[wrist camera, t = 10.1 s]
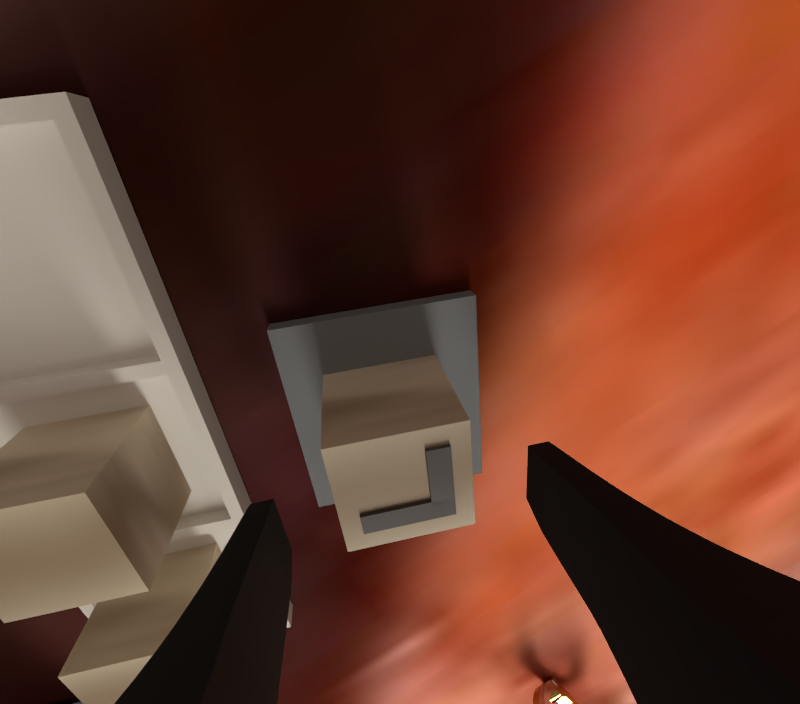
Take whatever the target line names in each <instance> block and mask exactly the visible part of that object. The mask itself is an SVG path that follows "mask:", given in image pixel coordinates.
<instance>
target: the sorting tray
mask: <svg viewBox="0 0 800 704" xmlns="http://www.w3.org/2000/svg"><path fill="white" fill-rule="evenodd" d="M146 405H150V406H151V408H152V411H153V413H154V415H155V417H156V419H157V421H158V423H159V425H160V427H161V429H162V431H163V433H164V435H165V437H166V439H167V441H168V443H169V445H170V447H171V450H172V452H173V454H174V456H175V458H176V460H177V462H178V464H179V466H180V468H181V470H182V472H183V474H184V476H185V478H186V480H187V482H188V484H189V487H190V489H191V493H190V495H189V498H188V500H187V503H186V505H185V507H184V510H183V512H182V514H181V517H180V519H179V522H178V524H177V526H176V529H175V531H174V533H173V536H172V538H171V541H170V543H169V545H168V548H167V550H166V553H165V554H167V553H172V552H177V551H181V550H186V549H191V548H195V547H200V546H205V545H209V544H214V543H217V544H218V546H219V548H220V550H221V552H222V551H223V549H224V548H225V546H226V544H227V543H228V541H229V539H230V537H231V536H232V534H233V532H234V531H235V529H236V527H237V525H238V524H239V522H240V520H241V518H242V517H243V515H244V513H245V511H246V510H247V508H248V506H249V505H250V504H252V503H251V501H250V498H249V496H248V493H247V491H246V488H245V486H244V483H243V481H242V478H241V476H240V473H239V471H238V468H237V466H236V463H235V461H234V458H233V456H232V453H231V451H230V448H229V446H228V443H227V441H226V438H225V436H224V433H223V431H222V428H221V426H220V423H219V421H218V419H217V416H216V414H215V411H214V409H213V406H212V404H211V401H210V399H209V396H208V394H207V391H206V389H205V386H204V384H203V381H202V379H201V376H200V374H199V371H198V369H197V366H196V364H195V361H194V359H193V356H192V354H191V351H190V349H189V346H188V344H187V341H186V339H185V336H184V334H183V331H182V329H181V326H180V324H179V321H178V319H177V316H176V314H175V311H174V309H173V306H172V304H171V301H170V299H169V296H168V294H167V292H166V289H165V287H164V284H163V282H162V279H161V277H160V274H159V272H158V269H157V267H156V264H155V262H154V259H153V257H152V254H151V252H150V249H149V247H148V244H147V242H146V239H145V237H144V234H143V232H142V229H141V227H140V224H139V222H138V219H137V217H136V214H135V212H134V209H133V207H132V204H131V202H130V199H129V197H128V194H127V192H126V189H125V187H124V184H123V182H122V179H121V177H120V174H119V172H118V170H117V167H116V165H115V162H114V160H113V157H112V155H111V152H110V150H109V147H108V145H107V142H106V140H105V137H104V135H103V132H102V130H101V127H100V125H99V122H98V120H97V117H96V115H95V112H94V110H93V107H92V105H91V102H90V100H89V98H87V97H84V96H80V95H76V94H72V93H68V92H58V93H49V94H40V95H31V96H22V97H13V98H4V99H0V448H1V447H3V446H4V445H5V444H6V443H7V442H8V441H9V440H11V439H12V438H13V437H14V436H15V435H16V434H17V433H19V432H20V431H21V430H22V429H23V428H25V427H30V426H36V425H41V424H47V423H52V422H58V421H63V420H69V419H74V418H80V417H85V416H91V415H96V414H102V413H107V412H113V411H118V410H124V409H129V408H135V407H140V406H146ZM96 604H97V603H93V604H89V605H84V606H80V607H79V608H80V609H81V610H82V612H83V613H84V614H85V615H86V616H87V618H88V619H89V617H90V615H91V613H92V611H93V609H94V607H95V605H96ZM292 608H293V605H292V603H291V600H290V604H289V612H288V620H287V628H288V627H291V620H292Z"/></svg>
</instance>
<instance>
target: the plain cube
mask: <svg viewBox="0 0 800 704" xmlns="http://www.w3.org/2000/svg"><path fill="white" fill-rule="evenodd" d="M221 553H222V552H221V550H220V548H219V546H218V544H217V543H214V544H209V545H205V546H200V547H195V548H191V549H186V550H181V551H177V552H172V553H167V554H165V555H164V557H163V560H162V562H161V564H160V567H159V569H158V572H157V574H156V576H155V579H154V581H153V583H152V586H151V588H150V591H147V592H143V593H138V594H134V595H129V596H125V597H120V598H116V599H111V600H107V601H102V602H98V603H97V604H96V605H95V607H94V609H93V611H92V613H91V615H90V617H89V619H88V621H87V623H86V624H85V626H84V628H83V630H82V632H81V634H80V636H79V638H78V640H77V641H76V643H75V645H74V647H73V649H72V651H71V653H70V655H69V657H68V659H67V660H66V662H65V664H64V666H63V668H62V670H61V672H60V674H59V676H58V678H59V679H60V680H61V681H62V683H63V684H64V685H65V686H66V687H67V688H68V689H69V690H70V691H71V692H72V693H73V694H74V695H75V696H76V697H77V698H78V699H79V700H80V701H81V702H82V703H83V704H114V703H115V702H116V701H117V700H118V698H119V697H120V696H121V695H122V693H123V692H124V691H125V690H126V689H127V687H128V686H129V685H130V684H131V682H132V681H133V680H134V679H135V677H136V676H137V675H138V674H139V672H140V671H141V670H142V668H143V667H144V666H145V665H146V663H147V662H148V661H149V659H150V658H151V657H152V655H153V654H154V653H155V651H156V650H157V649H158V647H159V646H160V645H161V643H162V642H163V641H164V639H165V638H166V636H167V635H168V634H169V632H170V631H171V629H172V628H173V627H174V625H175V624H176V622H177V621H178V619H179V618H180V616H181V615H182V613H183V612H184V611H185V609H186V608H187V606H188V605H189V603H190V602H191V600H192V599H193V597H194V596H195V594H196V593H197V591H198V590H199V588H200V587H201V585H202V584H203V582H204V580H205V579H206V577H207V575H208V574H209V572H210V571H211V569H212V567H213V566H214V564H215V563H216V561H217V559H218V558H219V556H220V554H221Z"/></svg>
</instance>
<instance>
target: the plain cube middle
mask: <svg viewBox="0 0 800 704" xmlns="http://www.w3.org/2000/svg"><path fill="white" fill-rule="evenodd" d="M190 493H191V489H190V487H189V484H188V482H187V480H186V478H185V476H184V474H183V472H182V470H181V468H180V466H179V464H178V462H177V460H176V458H175V456H174V454H173V452H172V450H171V447H170V445H169V443H168V441H167V439H166V437H165V435H164V433H163V431H162V429H161V427H160V425H159V423H158V421H157V419H156V417H155V415H154V413H153V411H152V408H151V406H150V405H146V406H140V407H135V408H129V409H124V410H118V411H113V412H107V413H102V414H96V415H91V416H85V417H80V418H74V419H69V420H63V421H58V422H52V423H47V424H41V425H36V426H30V427H25V428H23V429H22V430H21V431H20V432H19V433H17V434H16V435H15V436H14V437H13V438H12V439H11V440H9V441H8V442H7V443H6V444H5V445H4V446H3V447H1V448H0V619H1V620H2V621H3V622H4V623H7V622H12V621H16V620H21V619H26V618H30V617H35V616H39V615H44V614H48V613H53V612H57V611H62V610H66V609H71V608H75V607H80V606H84V605H89V604H93V603H98V602H102V601H107V600H111V599H116V598H120V597H125V596H129V595H134V594H138V593H143V592H147V591H150V588H151V586H152V583H153V581H154V579H155V576H156V574H157V572H158V569H159V567H160V564H161V562H162V560H163V557H164V555H165V553H166V550H167V548H168V545H169V543H170V541H171V538H172V536H173V533H174V531H175V529H176V526H177V524H178V522H179V519H180V517H181V514H182V512H183V510H184V507H185V505H186V503H187V500H188V498H189V495H190Z"/></svg>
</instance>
